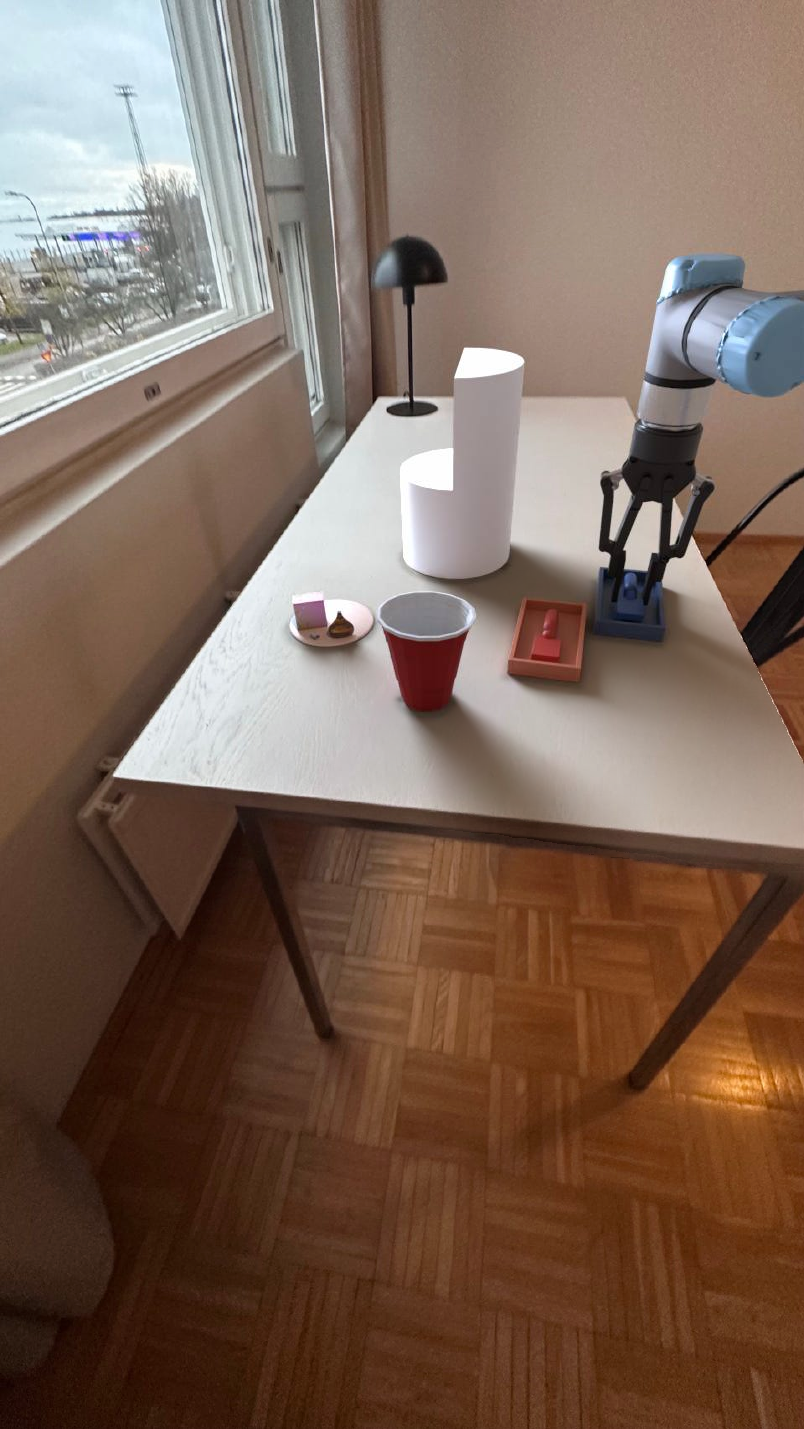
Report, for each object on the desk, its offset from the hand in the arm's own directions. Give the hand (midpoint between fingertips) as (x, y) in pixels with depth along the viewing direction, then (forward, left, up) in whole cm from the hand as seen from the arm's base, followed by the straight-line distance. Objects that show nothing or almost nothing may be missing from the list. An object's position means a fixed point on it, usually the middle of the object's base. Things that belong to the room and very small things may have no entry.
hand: (629, 598), depth 88 cm
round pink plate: (+40, +12, -2) cm, 42 cm away
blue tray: (0, 0, -2) cm, 2 cm away
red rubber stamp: (+10, +11, -1) cm, 15 cm away
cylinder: (+27, -12, -2) cm, 30 cm away
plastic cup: (+23, +25, -2) cm, 34 cm away
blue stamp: (0, 0, 0) cm, 0 cm away
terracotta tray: (+10, +11, -2) cm, 15 cm away
